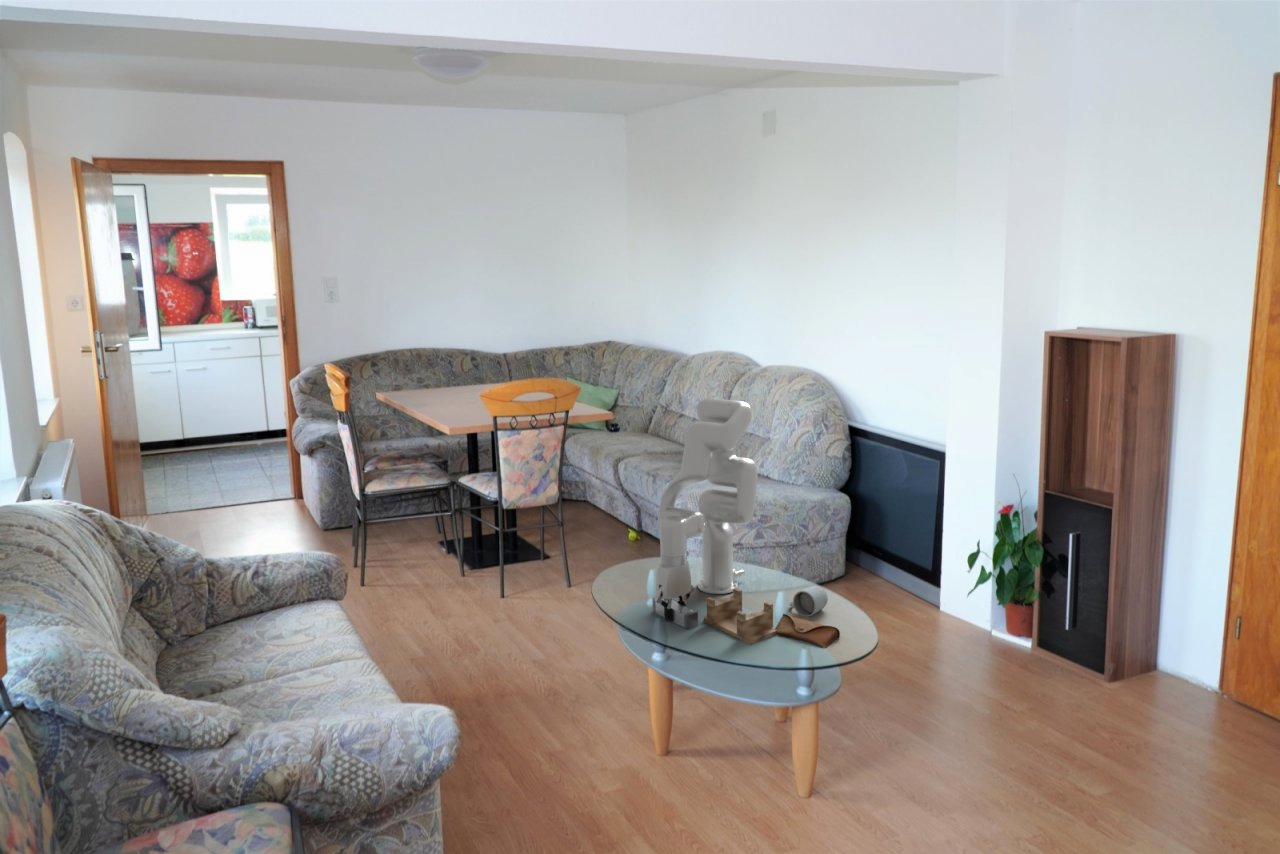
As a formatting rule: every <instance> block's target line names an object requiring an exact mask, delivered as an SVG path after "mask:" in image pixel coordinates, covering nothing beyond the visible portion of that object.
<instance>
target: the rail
mask: <svg viewBox="0 0 1280 854" xmlns="http://www.w3.org/2000/svg"><path fill="white" fill-rule="evenodd" d="M654 599H655V597H654V598H652V612H653V613H654V612H655V613H654V614H656V615H659V616H661V617H662V618H664V607H663V606H662V605H661V604H659V603H657V602H655V601H654ZM661 599H662V600H663V596H662V598H661ZM667 601H668V600H667ZM677 602H678V601H675V600H674V599H672V603H671V608H672V609H673V621H672V623H675V624H676V625H678V626H680V627H682V628H684V629H685V628H686V629H685V630H688V629H692V628H693V627H697V626H699V611H698V610H694V609H692V608H689V607H688V606H687V605H686V606H684V605H681V604H679V603H677ZM691 627H692V628H691Z"/></svg>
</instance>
